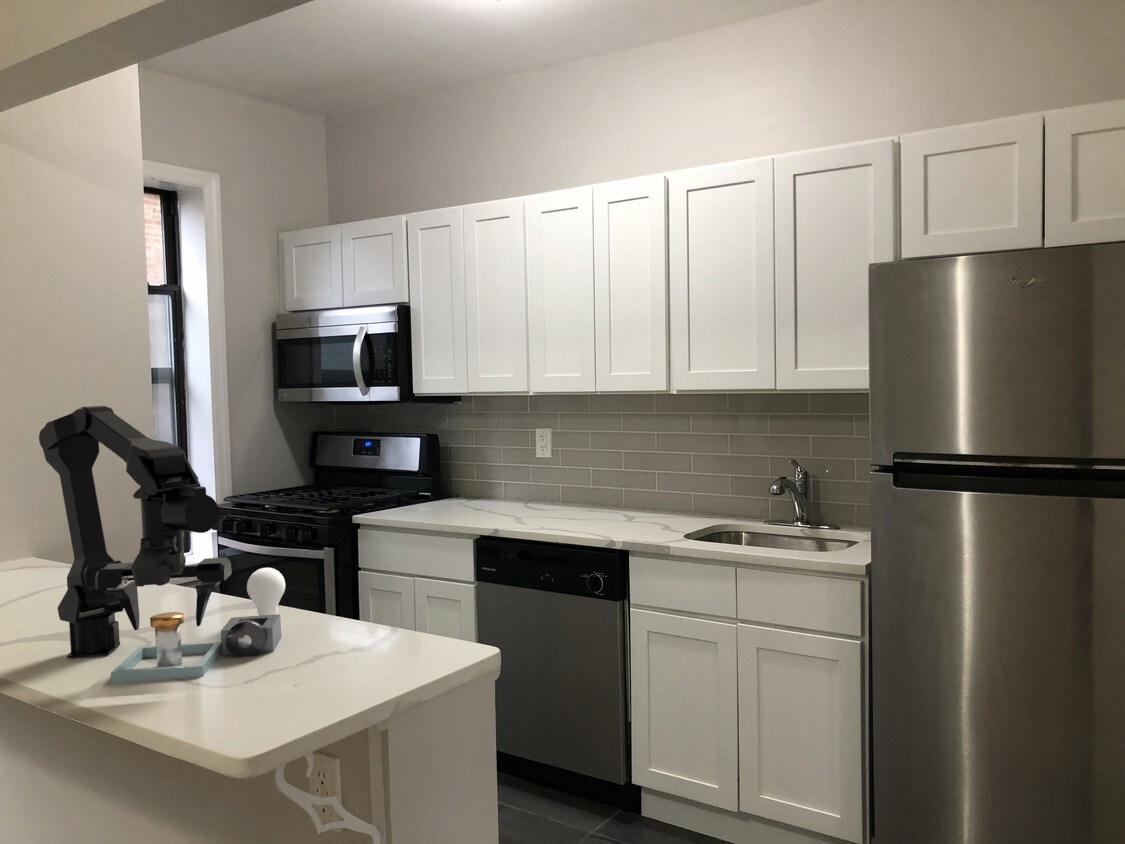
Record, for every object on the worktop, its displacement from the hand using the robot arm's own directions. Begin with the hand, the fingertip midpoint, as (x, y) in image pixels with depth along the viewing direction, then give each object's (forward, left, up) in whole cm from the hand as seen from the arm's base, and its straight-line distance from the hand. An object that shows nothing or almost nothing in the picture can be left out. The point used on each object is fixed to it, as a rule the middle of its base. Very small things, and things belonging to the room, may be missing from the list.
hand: (167, 627), depth 141 cm
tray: (0, 0, -7) cm, 7 cm away
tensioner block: (+11, +7, -7) cm, 15 cm away
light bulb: (+11, +22, -7) cm, 26 cm away
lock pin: (0, 0, -6) cm, 6 cm away
